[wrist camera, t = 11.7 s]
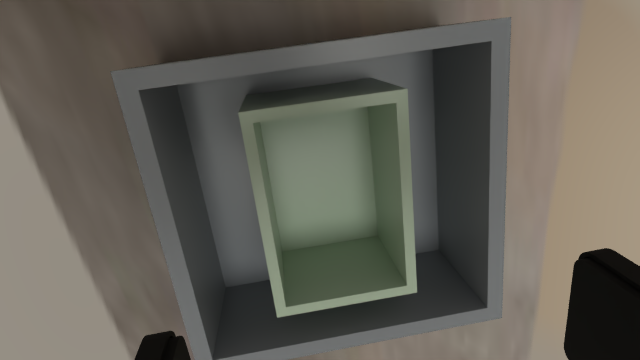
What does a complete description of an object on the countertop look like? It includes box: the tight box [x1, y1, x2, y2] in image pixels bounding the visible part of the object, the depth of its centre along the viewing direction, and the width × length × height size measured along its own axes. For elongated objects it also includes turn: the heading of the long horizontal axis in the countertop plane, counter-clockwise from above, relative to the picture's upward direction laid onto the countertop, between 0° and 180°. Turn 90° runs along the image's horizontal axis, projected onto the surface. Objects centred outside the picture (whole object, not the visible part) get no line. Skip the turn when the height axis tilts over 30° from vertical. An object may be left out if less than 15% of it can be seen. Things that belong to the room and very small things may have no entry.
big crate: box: [110, 17, 511, 360], centre depth 21 cm, size 15×16×7 cm
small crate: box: [238, 78, 417, 318], centre depth 21 cm, size 7×10×6 cm
